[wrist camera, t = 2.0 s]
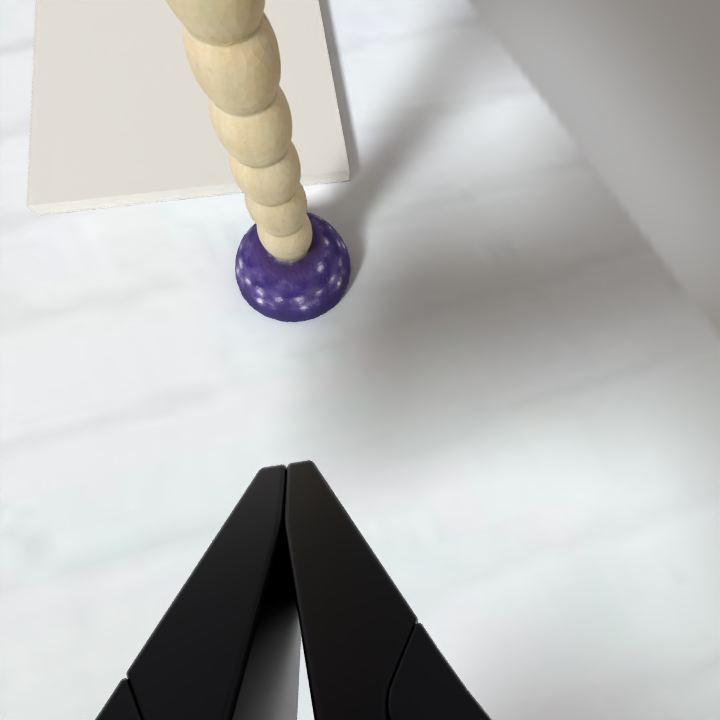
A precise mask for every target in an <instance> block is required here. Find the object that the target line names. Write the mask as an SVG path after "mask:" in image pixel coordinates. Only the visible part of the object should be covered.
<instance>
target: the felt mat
mask: <svg viewBox="0 0 720 720" xmlns="http://www.w3.org/2000/svg"><path fill="white" fill-rule="evenodd" d="M264 13H265V14H266V16H267V18H268V20H269V22H270V24H271V26H272V28H273V30H274V33H275V35H276V39H277V42H278V47H279V53H280V60H281V79H280V82H279V86H280V87H281V89H282V90H283V92H284V94H285V96H286V99H287V101H288V104H289V107H290V111H291V116H292V138H291V141H292V142H293V144H294V145H295V148H296V150H297V153H298V156H299V160H300V165H301V178H300V183H301V184H302V186H306V185H315V184H324V183H333V182H342V181H350V169H349V163H348V158H347V153H346V147H345V142H344V136H343V131H342V125H341V120H340V115H339V109H338V104H337V98H336V93H335V87H334V82H333V77H332V71H331V66H330V60H329V55H328V49H327V44H326V39H325V33H324V28H323V22H322V17H321V11H320V6H319V1H318V0H265V7H264ZM234 193H243V191H242V190H241V189H240V188H239V186H238V185H237V183H236V181H235V179H234V177H233V175H232V172H231V168H230V163H229V153H228V152H227V150H226V149H225V148H224V146H223V145H222V144H221V142H220V141H219V139H218V137H217V135H216V132H215V130H214V128H213V125H212V122H211V118H210V111H209V98H208V96H207V95H206V94H205V92H204V91H203V90H202V88H201V87H200V85H199V84H198V82H197V81H196V78H195V76H194V74H193V72H192V70H191V67H190V65H189V62H188V59H187V55H186V52H185V46H184V41H183V24H182V23H181V22H180V20H179V19H178V18H177V16H176V15H175V14H174V12H173V11H172V10H171V8H170V7H169V5H168V3H167V2H166V0H36V9H35V32H34V54H33V77H32V100H31V122H30V145H29V167H28V190H27V207H28V208H30V209H31V210H32V211H33V212H34V213H35V214H36V215H37V216H38V215H46V214H55V213H64V212H73V211H82V210H91V209H100V208H109V207H118V206H127V205H136V204H145V203H154V202H163V201H172V200H181V199H190V198H199V197H207V196H216V195H225V194H234Z"/></svg>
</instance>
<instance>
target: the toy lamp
mask: <svg viewBox="0 0 720 720" xmlns="http://www.w3.org/2000/svg"><path fill="white" fill-rule="evenodd" d="M166 2H167V3H168V5H169V7H170V8H171V10H172V11H173V12H174V14H175V15H176V16H177V18H178V19H179V20H180V22H181V23H182V24H183V41H184V46H185V52H186V55H187V59H188V62H189V65H190V67H191V70H192V72H193V74H194V76H195V78H196V81H197V82H198V84H199V85H200V87H201V88H202V90H203V91H204V92H205V94H206V95H207V96H208V98H209V111H210V118H211V122H212V125H213V128H214V130H215V132H216V135H217V137H218V139H219V141H220V142H221V144H222V145H223V146H224V148H225V149H226V150H227V152H228V153H229V163H230V168H231V172H232V175H233V177H234V179H235V181H236V183H237V185H238V186H239V188H240V189H241V190H242V191H243V192H244V194H245V203H246V207H247V209H248V212H249V214H250V216H251V218H252V219H253V221H254V222H255V224H254V225H253V226H252V227H251V228H250V229H249V230H248V232H247V233H246V234H245V235H244V237H243V239H242V241H241V243H240V245H239V248H238V251H237V255H236V266H235V271H236V279H237V283H238V286H239V289H240V291H241V293H242V295H243V297H244V299H245V300H247V302H248V303H249V305H250V306H252V307H253V308H254V309H255V310H257V311H258V312H260V313H261V314H263V315H264V316H267V317H269V318H273V319H276V320H279V321H285V322H299V321H306V320H310V319H314V318H315V317H318V316H320V315H322V314H324V313H326V312H327V311H328V310H330V309H331V308H333V307H334V306H335V305H336V304H337V303H338V301H339V300H340V298H341V297H342V295H343V294H344V292H345V289H346V287H347V285H348V282H349V275H350V258H349V254H348V251H347V248H346V246H345V244H344V242H343V240H342V238H341V237H340V236H339V234H338V233H337V232H336V230H335V229H334V228H333V227H332V226H331V225H330V224H329V223H327V222H326V221H324V220H323V219H321V218H319V217H318V216H316V215H313V214H311V213H307V199H306V194H305V191H304V189H303V186H302V184H301V183H300V178H301V165H300V160H299V156H298V153H297V150H296V148H295V145H294V144H293V142H292V141H291V138H292V116H291V111H290V107H289V104H288V101H287V99H286V96H285V94H284V92H283V90H282V89H281V87H280V86H279V82H280V79H281V60H280V53H279V47H278V42H277V39H276V35H275V33H274V30H273V28H272V26H271V24H270V22H269V20H268V18H267V16H266V14H265V13H264V7H265V0H166Z"/></svg>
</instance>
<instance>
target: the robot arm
mask: <svg viewBox="0 0 720 720" xmlns="http://www.w3.org/2000/svg"><path fill="white" fill-rule="evenodd" d="M301 637H302V643H303V649H304V656H305V662H306V668H307V675H308V681H309V687H310V694H311V700H312V707H313V713H314V719H315V720H491V718H490V717H489V716H488V715H487V713H486V712H485V711H484V710H483V708H482V707H481V706H480V705H479V703H478V702H477V701H476V700H475V698H474V697H473V696H472V695H471V693H470V692H469V691H468V690H467V688H466V687H465V685H464V684H463V683H462V681H461V680H460V678H459V677H458V676H457V674H456V673H455V671H454V670H453V669H452V667H451V666H450V664H449V663H448V662H447V660H446V659H445V657H444V656H443V655H442V653H441V652H440V650H439V649H438V648H437V646H436V645H435V643H434V642H433V640H432V639H431V637H430V636H429V634H428V633H427V631H426V630H425V628H424V627H423V625H422V624H421V623H418V619H417V617H416V615H415V614H414V612H413V611H412V609H411V608H410V606H409V605H408V603H407V602H406V600H405V599H404V597H403V596H402V594H401V593H400V591H399V590H398V588H397V587H396V585H395V584H394V582H393V581H392V579H391V578H390V576H389V575H388V573H387V572H386V570H385V569H384V567H383V566H382V564H381V563H380V561H379V560H378V558H377V557H376V555H375V554H374V552H373V551H372V549H371V548H370V546H369V545H368V543H367V542H366V540H365V539H364V537H363V536H362V534H361V533H360V531H359V530H358V528H357V527H356V525H355V524H354V522H353V521H352V519H351V518H350V516H349V515H348V513H347V512H346V510H345V509H344V507H343V506H342V504H341V503H340V501H339V500H338V498H337V497H336V495H335V494H334V492H333V491H332V489H331V488H330V486H329V485H328V483H327V482H326V480H325V479H324V477H323V476H322V474H321V473H320V471H319V470H318V468H317V467H316V465H315V464H314V463H313V462H312V461H310V460H308V461H302V462H295V463H290V464H289V465H288V467H286V466H285V465H276V466H270V467H264V468H262V469H260V470H259V471H258V473H257V474H256V476H255V477H254V479H253V481H252V482H251V484H250V485H249V487H248V488H247V490H246V491H245V493H244V494H243V496H242V497H241V499H240V500H239V502H238V503H237V505H236V506H235V508H234V509H233V511H232V513H231V514H230V516H229V517H228V519H227V520H226V522H225V523H224V525H223V526H222V528H221V529H220V531H219V532H218V534H217V535H216V537H215V538H214V540H213V541H212V543H211V545H210V546H209V548H208V549H207V551H206V552H205V554H204V555H203V557H202V558H201V560H200V561H199V563H198V564H197V566H196V567H195V569H194V570H193V572H192V573H191V575H190V577H189V578H188V580H187V581H186V583H185V584H184V586H183V587H182V589H181V590H180V592H179V593H178V595H177V596H176V598H175V599H174V601H173V602H172V604H171V605H170V607H169V609H168V610H167V612H166V613H165V615H164V616H163V618H162V619H161V621H160V622H159V624H158V625H157V627H156V628H155V630H154V631H153V633H152V634H151V636H150V637H149V639H148V641H147V642H146V644H145V645H144V647H143V648H142V650H141V651H140V653H139V654H138V656H137V657H136V659H135V660H134V662H133V663H132V665H131V666H130V668H129V669H128V671H127V678H128V679H127V678H124V679H122V680H121V681H120V683H119V684H118V686H117V687H116V689H115V690H114V692H113V693H112V695H111V696H110V698H109V699H108V701H107V702H106V704H105V706H104V707H103V709H102V710H101V712H100V713H99V715H98V716H97V718H96V719H95V720H297V707H298V686H299V665H300V644H301Z"/></svg>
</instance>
